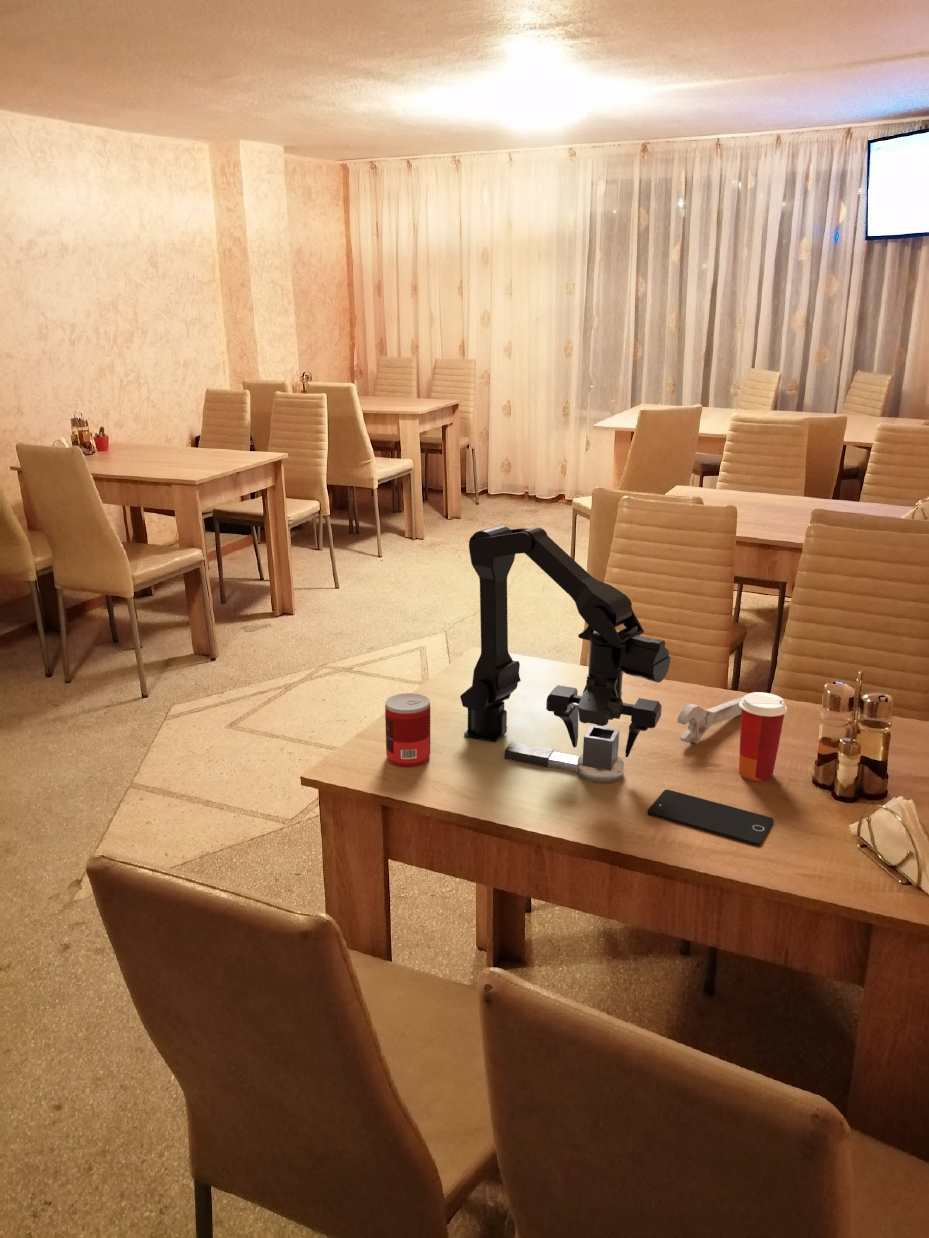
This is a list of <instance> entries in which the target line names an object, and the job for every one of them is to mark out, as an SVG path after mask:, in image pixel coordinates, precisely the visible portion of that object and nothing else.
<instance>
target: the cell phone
mask: <svg viewBox="0 0 929 1238" xmlns="http://www.w3.org/2000/svg"><path fill="white" fill-rule="evenodd" d="M646 814H647V816H648V817H649V816H650V817H654V818H657V819H660V820H664V821H667V822H671V823H674V824H677V825H681V826H685V827H687V828H688V827H689V828H691V829H694V830H699V831H702V832H706V833H709V834H713V835H716V836H719V837H723V838H727V839H730V840H732V841H737V842H740V843H744V844H747V845H751V846H754V847H760V846H762V844H763V842H764V840H765V839H766V837H767V835H768V834H769V831H770V830H771V828H772V826H773V825H774V818H773V817H771V816H767V815H764V814H761V813H760V814H759V813H757V812H752V811H748V810H745V809H741V808H737V807H735V806H734V807H733V806H730V805H727V804H723V803H720V802H715V801H711V800H708V799H705V798H700V797H698V796H694V795H690V794H686V793H682V792H679V791H674V790H671V789H664V790H663V791H662V792H661V794H659V796H658V797H657V798H656V800H655V801H653V803H652V804H651V805H650V807H649V808H648V809H647V813H646Z"/></svg>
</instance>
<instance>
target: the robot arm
mask: <svg viewBox="0 0 929 1238" xmlns="http://www.w3.org/2000/svg"><path fill="white" fill-rule="evenodd" d="M468 551H469V556H470V563H471V566H472V568H473V569H474V571H475V572H476V575H477V576H478V578H479V607H480V608H479V610H480V612H479V613H480V655H479V658H478V660H477V662H476V665H475V667H474V669H473V674H472V683H471V686H470V687H469V688H468V689H466V690H465V691H464V692H463V693H461V694H460V695H459V697H460V701H461V704H462V707H464V708H466V709H467V729H466V731H464V733H463V736H464V737H468V738H473V739H479V740H485V741H489V742H497V741H498V740H499V739H500V737H501V736H503V734H504V733H506V731H507V729H508V725H507V722H508V721H507V720H508V719H507V718H508V715H507V714H508V711H507V710H506V709H505V701H507V700H508V699H510V697H511V694H512V693H513V692H514V691H516V689H517V688H518V685H519V683H520V682H522V680H521V677H520V666H521V664H520V661H518V660H513V658H512V656H511V655H510V653H509V642H508V641H509V635H508V634H509V632H508V629H509V628H508V622H509V621H508V576H509V574H510V570H512V566H513V564H514V562H515V557H516V555H517V554H518V555H519V554H525V555H526V556H527V557H528V558H529V559H531V560H532V562H533V563H535V564H536V566H538V567H539V568H540V569H541V570H542V571H543V572H544V573H545V574H546V575H547V576H548V577H549V578H550V579H551V580H553V582H555V584H557V585H558V586H559V587H560V588H561V589H562V590H563V591H564V592H566V594H567V595H569V596H570V598H571V599H572V601H574V603H575V606H576V609H577V611H578V614H579V615H580V617H581V618H582V619H583V620H584V623H586V625H587V626H586V629H584V630H583V631H582V632H581V633H579V634H578V635H577V636H578V638H579V639H581V640H586V641H589V654H588V655H589V656H588V673H587V677H586V683H585V687H584V689H583V691H582V695H578V692H579V691H578V689H577V687H571V686H565V685H556V686H555V687H554V688H553V689H552V690H551V692H550V693H549V694H548V695H547V698H546V705H545V706H546V708H545V710H546V711H548V712H552V713H553V715H554V717H558V718H559V719H561V720H562V721H563V723H564V725H565V727H566V730H567V733H568V736H569V739H570V741H571V745H572V747H573V748H577V746H578V742H579V741H578V740H579V722H580V723H582V724H591V725H596V726H600V727H606V726H607V725H608V724H609V721H613V720H614V719H617V720H620V718H621V715H623V716H624V715H625V716H628V717H629V716H631V718H630V721H631V722H630V724H629V726H628V734H627V735H628V736H627V741H626V746H625V758H628V757H630V753H631V751H632V749H633V747H634V745H635V743H636V740H637V738H638V735H639V734H640V732H645V731H648V729H654V728H656V726H657V724H658V722H659V721H660V719H661V717H662V704H661V703H660V701H658V700H655V699H648V698H640V697H639V698H637V700H636V702H635V703H634V704H633V703H626V702H623V699H622V697H623V696H622V695H623V691H622V690H623V675H624V673H625V675H628V676H632V677H634V678H640V679H642V680H643V679H644V680H646V681H650V682H655V683H657V684H659V683H661V682H662V681H664V679H665V678H666V676H667V674H668V672H669V670H670V663H671V656H670V653H669V650H668V648H666V641H665V640H663V639H659V638H652V637H651V638H650V637H646V636H643V634H644V633H645V630H644V628H643V627H642V624H641V623H640V621H639V619H638V618H637V616H636V614H635V611H634V610H633V607H632V605H633V603H632V601H631V600H630V598H629V597H628V596H627V594H625V593H624V592H622V591H620V590H619V589H617V588H616V587H614V586H613V585H611V584H608V583H606V582H603V581H601V580H599V579H596V577H593V576H592V575H591V574H590V573H589V572H588V571H586V569H584V568H583V567H582V566H581V565H580V564H579V563H577V561H576V560H574V558H572V557H571V556H570V555H569V554H568V553H567V552H566V551H565V550H564V549H562V547H560V546H559V544H557V543H556V542H555V541H554V540H553V539H552V538H550V537H549V535H548V533H547V531H546V530H545V529H544V528H542V527H538V526H533V527H530V528H526V527H524V528H523V527H522V528H514V529H513V528H512V529H511V528H509V527H508V526H506V525H504V524H500V525H495V526H492V527H488V528H484V529H482V530H478V531H476V532H474V533H473V534H472V535H471V536H470V538H469V541H468ZM622 626H624V627H625V628H624V629H621V630H619V631H617V629H618V628H621V627H622Z"/></svg>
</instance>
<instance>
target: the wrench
mask: <svg viewBox="0 0 929 1238" xmlns="http://www.w3.org/2000/svg"><path fill="white" fill-rule="evenodd" d="M744 696H745V695H742V696H739V697H736V698H735V699H732V700H729V701H726V702H724V703H721V704H719V705H716V706H714V707H710V708H708V709H704V708H703V707H701V706H699V705H696V704H693V703H688V704H686V705H684V707H683V708H682V709H681V711H680V712H679V715H678V717H677V723H679V724H681V725H683V726H686V725H687V724H688V727H687V729H685V730H684V731H682V733H681V734H680V736H679V739H680V741H682V742H684V743H694V744H696V743H697V745H699V743H700V742H701V741H700V740H701V738H702V737H703V736H704V735H705V733H706V732H707V731H708V730H709V729H710V728H711V727H712V726H715V725H716V724H719V723H722V722H724V721H727V720H730V719H733V718H735V717H738V716H741V709H742V708H741V707H740V706H739V702H741V700H742V698H743V697H744Z"/></svg>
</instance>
